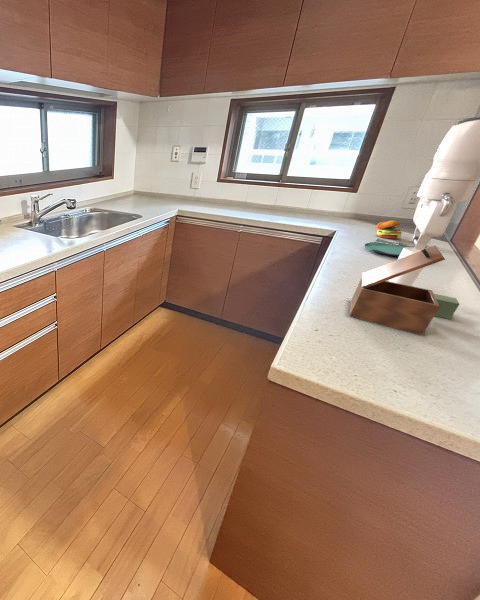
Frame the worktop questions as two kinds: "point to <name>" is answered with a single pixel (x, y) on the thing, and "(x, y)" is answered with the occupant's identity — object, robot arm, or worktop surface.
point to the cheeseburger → (388, 230)
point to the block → (446, 306)
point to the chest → (395, 306)
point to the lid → (402, 266)
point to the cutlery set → (386, 247)
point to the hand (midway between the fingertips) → (416, 246)
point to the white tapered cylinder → (411, 276)
